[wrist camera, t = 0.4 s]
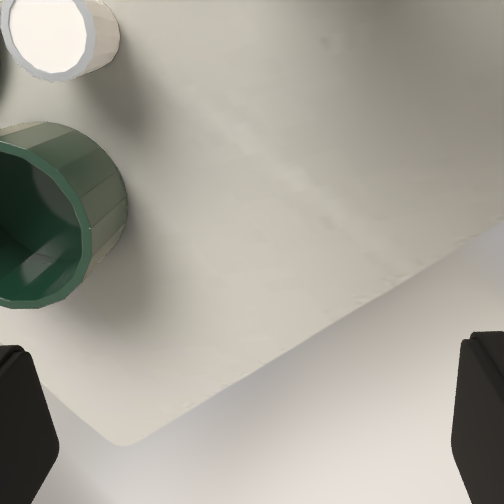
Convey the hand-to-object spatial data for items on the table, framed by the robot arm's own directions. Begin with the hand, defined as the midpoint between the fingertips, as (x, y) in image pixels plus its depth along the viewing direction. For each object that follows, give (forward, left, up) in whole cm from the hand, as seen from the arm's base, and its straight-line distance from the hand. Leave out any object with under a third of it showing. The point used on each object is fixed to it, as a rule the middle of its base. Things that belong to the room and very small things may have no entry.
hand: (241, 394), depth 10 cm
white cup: (-9, -16, -34) cm, 39 cm away
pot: (+5, -22, -34) cm, 41 cm away
